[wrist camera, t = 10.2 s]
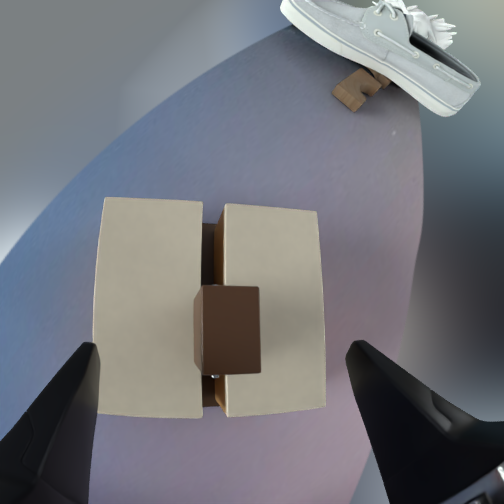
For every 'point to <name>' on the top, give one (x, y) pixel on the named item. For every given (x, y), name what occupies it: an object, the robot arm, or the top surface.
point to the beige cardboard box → (182, 300)
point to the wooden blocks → (359, 87)
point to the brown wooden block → (227, 330)
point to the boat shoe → (387, 49)
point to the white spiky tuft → (427, 24)
